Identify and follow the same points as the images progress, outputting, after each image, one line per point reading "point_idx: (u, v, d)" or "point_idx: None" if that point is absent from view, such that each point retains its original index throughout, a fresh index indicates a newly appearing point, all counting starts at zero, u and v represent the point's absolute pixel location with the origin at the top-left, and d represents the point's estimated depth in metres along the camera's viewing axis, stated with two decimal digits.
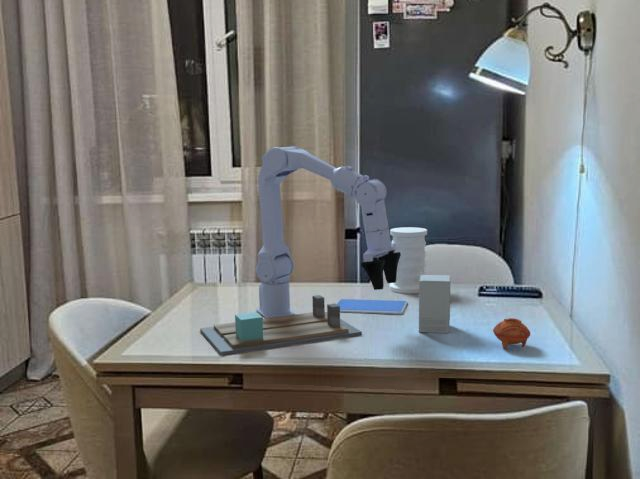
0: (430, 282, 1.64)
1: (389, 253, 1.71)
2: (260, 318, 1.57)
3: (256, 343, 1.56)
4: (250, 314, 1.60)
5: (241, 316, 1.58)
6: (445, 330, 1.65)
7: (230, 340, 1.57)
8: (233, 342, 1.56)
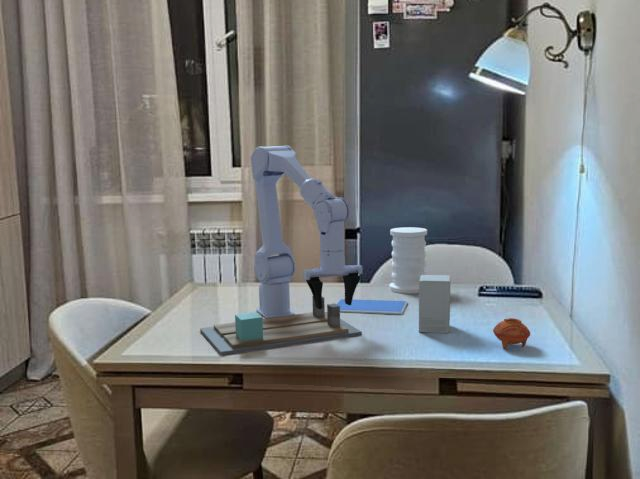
0: (430, 282, 1.64)
1: (349, 275, 1.66)
2: (260, 318, 1.57)
3: (256, 343, 1.56)
4: (250, 314, 1.60)
5: (241, 316, 1.58)
6: (445, 330, 1.65)
7: (230, 340, 1.57)
8: (233, 342, 1.56)
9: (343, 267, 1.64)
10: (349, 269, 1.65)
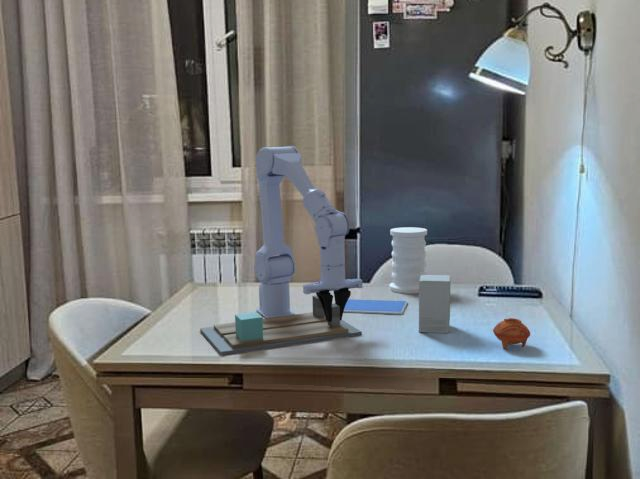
0: (430, 282, 1.64)
1: None
2: (260, 318, 1.57)
3: (256, 343, 1.56)
4: (250, 314, 1.60)
5: (241, 316, 1.58)
6: (445, 330, 1.65)
7: (230, 340, 1.57)
8: (233, 342, 1.56)
9: (343, 281, 1.64)
10: (349, 283, 1.65)
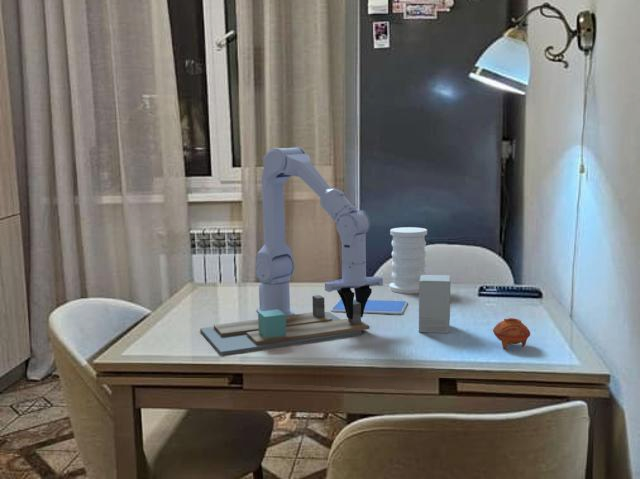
0: (430, 282, 1.64)
1: None
2: (283, 315, 1.59)
3: (279, 340, 1.58)
4: (273, 311, 1.62)
5: (264, 313, 1.60)
6: (445, 330, 1.65)
7: (253, 337, 1.59)
8: (257, 339, 1.58)
9: (364, 279, 1.66)
10: (370, 281, 1.67)
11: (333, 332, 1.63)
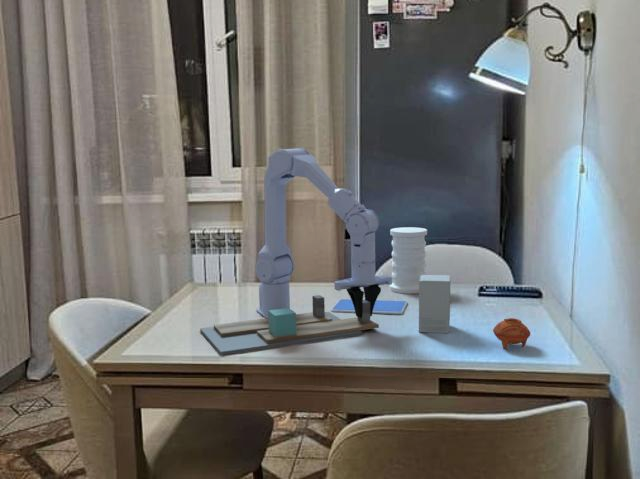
0: (430, 282, 1.64)
1: None
2: (293, 314, 1.60)
3: (290, 338, 1.59)
4: (283, 310, 1.63)
5: (275, 312, 1.61)
6: (445, 330, 1.65)
7: (264, 335, 1.60)
8: (267, 337, 1.59)
9: (374, 278, 1.67)
10: (379, 280, 1.68)
11: (343, 331, 1.64)
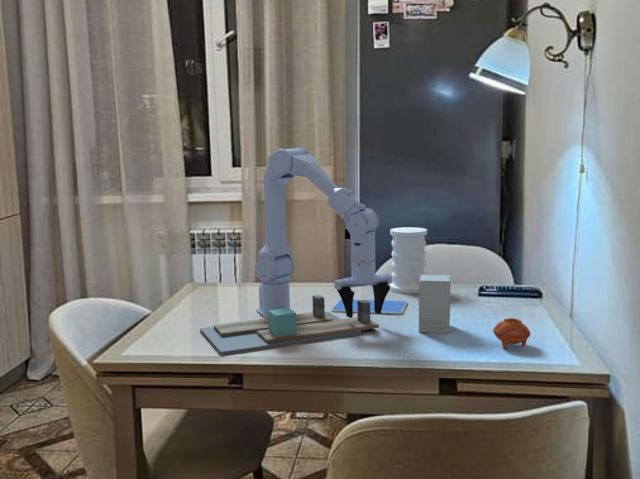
0: (430, 282, 1.64)
1: (378, 284, 1.70)
2: (293, 314, 1.60)
3: (290, 338, 1.59)
4: (283, 310, 1.63)
5: (275, 312, 1.61)
6: (445, 330, 1.65)
7: (264, 335, 1.60)
8: (267, 337, 1.59)
9: (374, 277, 1.67)
10: (379, 279, 1.68)
11: (343, 331, 1.64)
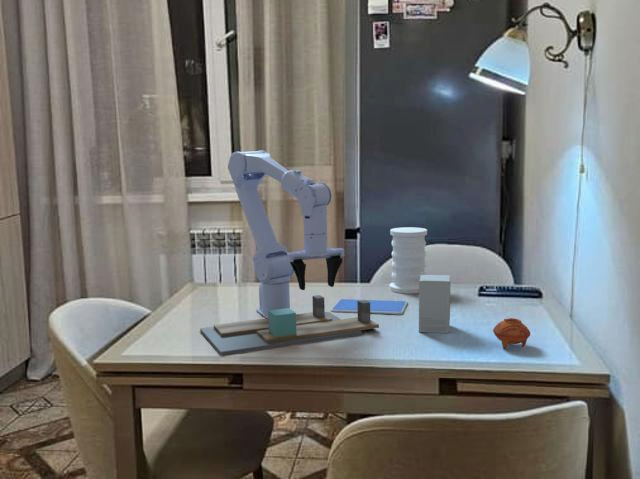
0: (430, 282, 1.64)
1: (331, 257, 1.73)
2: (293, 314, 1.60)
3: (290, 338, 1.59)
4: (283, 310, 1.63)
5: (275, 312, 1.61)
6: (445, 330, 1.65)
7: (264, 335, 1.60)
8: (267, 337, 1.59)
9: (325, 250, 1.70)
10: (331, 252, 1.71)
11: (343, 331, 1.64)
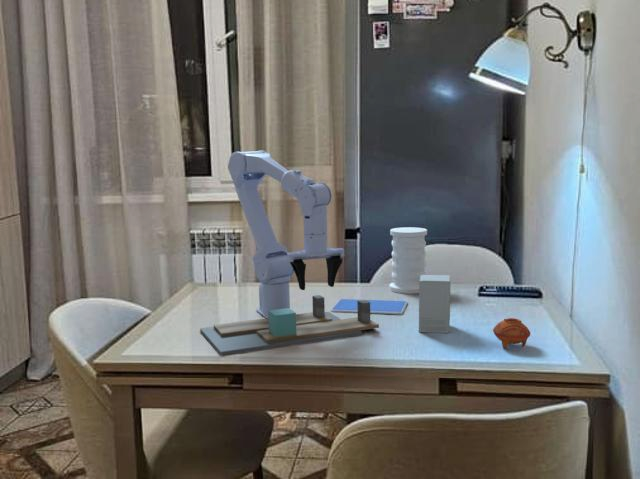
0: (430, 282, 1.64)
1: (331, 257, 1.73)
2: (293, 314, 1.60)
3: (290, 338, 1.59)
4: (283, 310, 1.63)
5: (275, 312, 1.61)
6: (445, 330, 1.65)
7: (264, 335, 1.60)
8: (267, 337, 1.59)
9: (325, 250, 1.70)
10: (331, 252, 1.71)
11: (343, 331, 1.64)
